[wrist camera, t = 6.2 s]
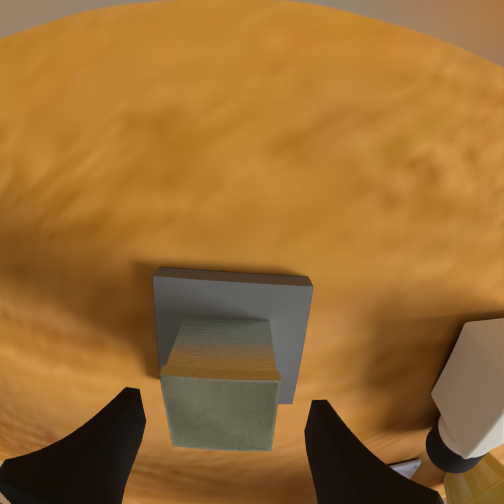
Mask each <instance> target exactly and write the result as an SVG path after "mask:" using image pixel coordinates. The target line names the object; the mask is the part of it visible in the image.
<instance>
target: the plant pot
mask: <svg viewBox="0 0 504 504" xmlns="http://www.w3.org/2000/svg"><path fill="white" fill-rule="evenodd" d="M443 482H444V487H445V492H446V498H447V503H448V504H504V465H503V464H502V463H501V462H500V461H499V460H498V459H496V458H495V457H494V456H493V455H492V454H491V453H490V452H488V453H487V454H486V455H485V456H484V457H483V458H482V459H481V460H480V461H479V462H478V463H477V464H476V465H475V466H474V467H473V468H472V469H471V470H469V471H467V472H464V473H459V474H454V473H449V472H446V474H445V475H444V477H443Z"/></svg>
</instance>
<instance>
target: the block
mask: <svg viewBox="0 0 504 504" xmlns="http://www.w3.org/2000/svg"><path fill="white" fill-rule="evenodd" d="M153 292H154V310H155V325H156V337H157V349H158V359H159V369H160V371H161V369H162V366H163V365H164V366H166V365H167V362H168V359H169V356H170V353H171V351H172V348H173V345H174V343H175V340H176V337H177V334H178V332H179V329H180V326H181V324H182V321H183V318H184V317H196V318H216V319H242V320H270V327H271V335H272V342H273V349H274V357H275V364H276V371H280V378H281V383H280V391H279V399H278V404H292V402H293V398H294V393H295V388H296V383H297V378H298V373H299V368H300V363H301V357H302V352H303V346H304V341H305V335H306V329H307V323H308V317H309V311H310V305H311V299H312V292H313V285H312V283H311V281H310V279H309V277H304V276H286V275H269V274H253V273H237V272H222V271H208V270H194V269H180V268H167V267H159V269H158V270H157V271H156V273H155V274H154V275H153ZM162 394H163V393H162Z"/></svg>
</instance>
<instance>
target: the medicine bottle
mask: <svg viewBox="0 0 504 504" xmlns="http://www.w3.org/2000/svg"><path fill="white" fill-rule="evenodd" d="M431 396H432V398H433V400H434V402H435V403H436V405H437V407H438V409H439V411H440V413H441V416H440V417H439V419H438V420H437V422H436V423H435V424H434V426H433V427H432V429H431V430H430V432H429V433H428V435H427V438H426V450H427V454H428V456H429V458H430V460H431V461H432V463H433V464H434V465H435V466H436V467H438V468H439V469H441V470H443V471H445V472H449V473H454V474H459V473H464V472H467V471H469V470H471V469H472V468H473V467H474V466H475V465H476V464H477V463H478V462H479V461H480V460H481V459H482V458H483V457H484V456H485V455H486V454H487V453H488V452H489V450H490V449H493V448H495V447H497V446H499V445H501V444H504V318H500V319H491V320H482V321H472V322H467V323H465V324H464V326H463V329H462V331H461V333H460V336H459V338H458V340H457V342H456V345H455V347H454V349H453V351H452V353H451V355H450V357H449V359H448V361H447V364H446V366H445V368H444V369H443V371H442V373H441V375H440V377H439V379H438V381H437V383H436V385H435V387H434V388H433V390H432V392H431Z"/></svg>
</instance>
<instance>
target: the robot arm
mask: <svg viewBox="0 0 504 504" xmlns="http://www.w3.org/2000/svg"><path fill="white" fill-rule="evenodd" d="M145 424H146V418H145V413H144V409H143V404H142V399H141V394H140V389H135V388H130V387H126V388H124V389H123V390H122V391H121V392H120V393H119V394H118V395H117V396H116V397H115V398H114V399H113V400H112V401H111V402H110V403H109V404H107V405H106V406H105V407H104V408H103V409H102V410H101V411H100V412H99V413H97V414H96V415H95V416H94V417H93V418H91V419H90V420H89V421H88V422H86V423H85V424H84V425H83V426H81V427H80V428H78V429H77V430H76V431H74V432H73V433H71V434H70V435H68V436H66V437H65V438H63V439H61V440H59V441H57V442H55V443H53V444H51V445H49V446H47V447H45V448H43V449H40V450H38V451H35V452H32V453H29V454H26V455H23V456H19V457H15V458H11V459H6V460H5V461H4V462H3V464H2V465H1V467H0V492H1V493H2V494H3V495H4V497H6V499H7V500H8V501H9V502H10V503H11V504H122V499H123V494H124V490H125V486H126V482H127V479H128V476H129V474H130V471H131V468H132V465H133V463H134V460H135V458H136V455H137V452H138V449H139V447H140V444H141V441H142V438H143V433H144V429H145ZM304 432H305V443H306V452H307V456H308V460H309V465H310V469H311V473H312V477H313V481H314V486H315V490H316V495H317V501H318V504H444V502H443V500H442V498H441V496H440V494H439V493H438V492H437V491H435V490H432V489H430V488H427V487H425V486H422V485H420V484H418V483H416V482H414V481H412V480H410V478H411V477H412V476H413V474H414V473H415V471H416V470H417V469H418V467H419V466H420V464H421V463H422V462H421V459H417V460H413V461H409V462H405V463H400V464H396V465H391V466H388V465H386V464H385V463H384V462H382V461H381V460H380V459H379V458H377V457H376V456H375V455H374V454H373V453H372V452H371V451H369V450H368V449H367V448H366V447H365V446H364V445H363V444H362V443H361V442H360V441H359V439H358V438H357V437H356V436H355V435H354V434H353V433H352V432H351V430H350V429H349V428H348V427H347V426H346V424H345V423H344V422H343V421H342V419H341V418H340V417H339V416H338V414H337V413H336V412H335V410H334V409H333V407H332V406H331V405H330V403H329V402H328V401H327V400H312V403H311V407H310V411H309V415H308V419H307V423H306V427H305V431H304ZM0 504H2V503H1V502H0Z"/></svg>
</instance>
